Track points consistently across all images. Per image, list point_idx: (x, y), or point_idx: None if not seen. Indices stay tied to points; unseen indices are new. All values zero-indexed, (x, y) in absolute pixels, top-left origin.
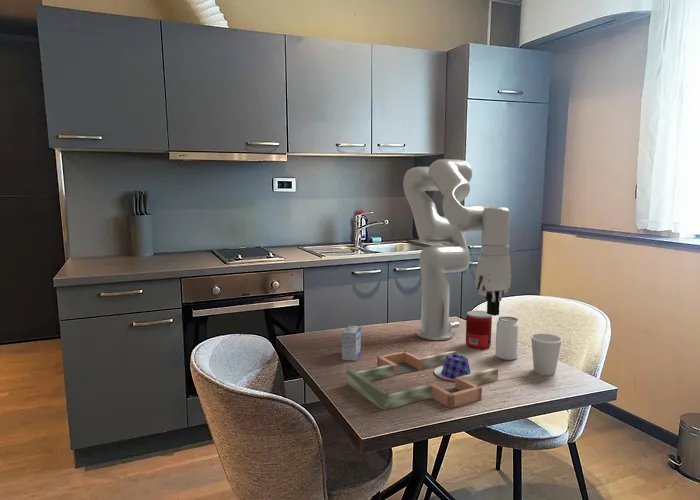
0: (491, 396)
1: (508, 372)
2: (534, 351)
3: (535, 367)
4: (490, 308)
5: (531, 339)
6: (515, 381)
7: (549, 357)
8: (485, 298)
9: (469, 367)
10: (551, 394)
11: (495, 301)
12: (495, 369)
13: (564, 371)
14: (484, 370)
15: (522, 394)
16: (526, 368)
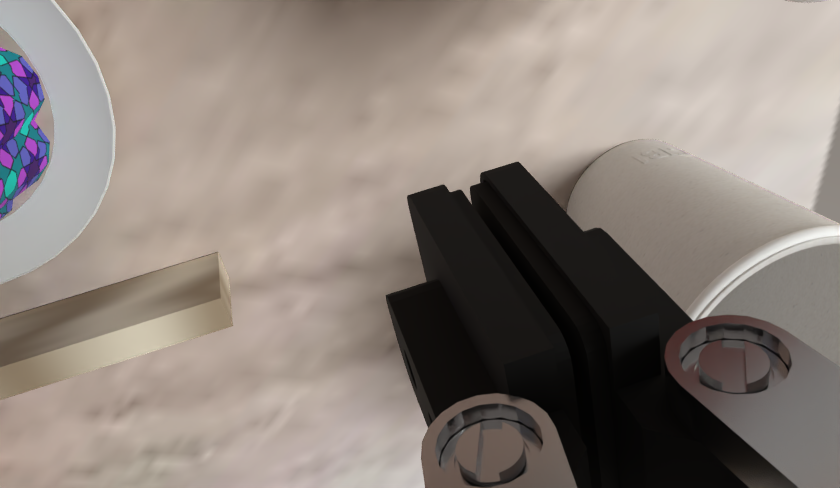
0: (57, 484)
1: (388, 170)
2: None
3: (579, 226)
4: (422, 401)
5: (687, 297)
6: (336, 316)
7: None
8: (424, 470)
9: (17, 188)
10: (419, 476)
11: (616, 472)
12: (205, 331)
13: None
14: (101, 337)
15: (264, 470)
16: (566, 126)
